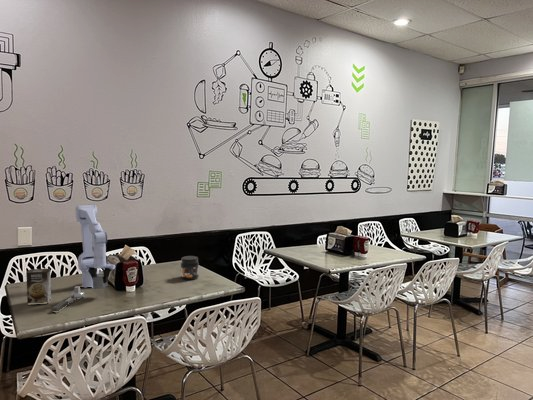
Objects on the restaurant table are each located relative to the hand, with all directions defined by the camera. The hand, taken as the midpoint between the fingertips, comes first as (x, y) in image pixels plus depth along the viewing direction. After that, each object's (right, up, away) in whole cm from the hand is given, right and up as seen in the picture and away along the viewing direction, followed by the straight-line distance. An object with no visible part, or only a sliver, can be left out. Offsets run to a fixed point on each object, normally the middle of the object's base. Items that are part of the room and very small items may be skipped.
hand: (100, 282), depth 205 cm
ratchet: (-12, -8, -9) cm, 17 cm away
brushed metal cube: (0, -2, 0) cm, 2 cm away
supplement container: (+38, -5, +35) cm, 52 cm away
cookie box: (-26, -8, -9) cm, 28 cm away
